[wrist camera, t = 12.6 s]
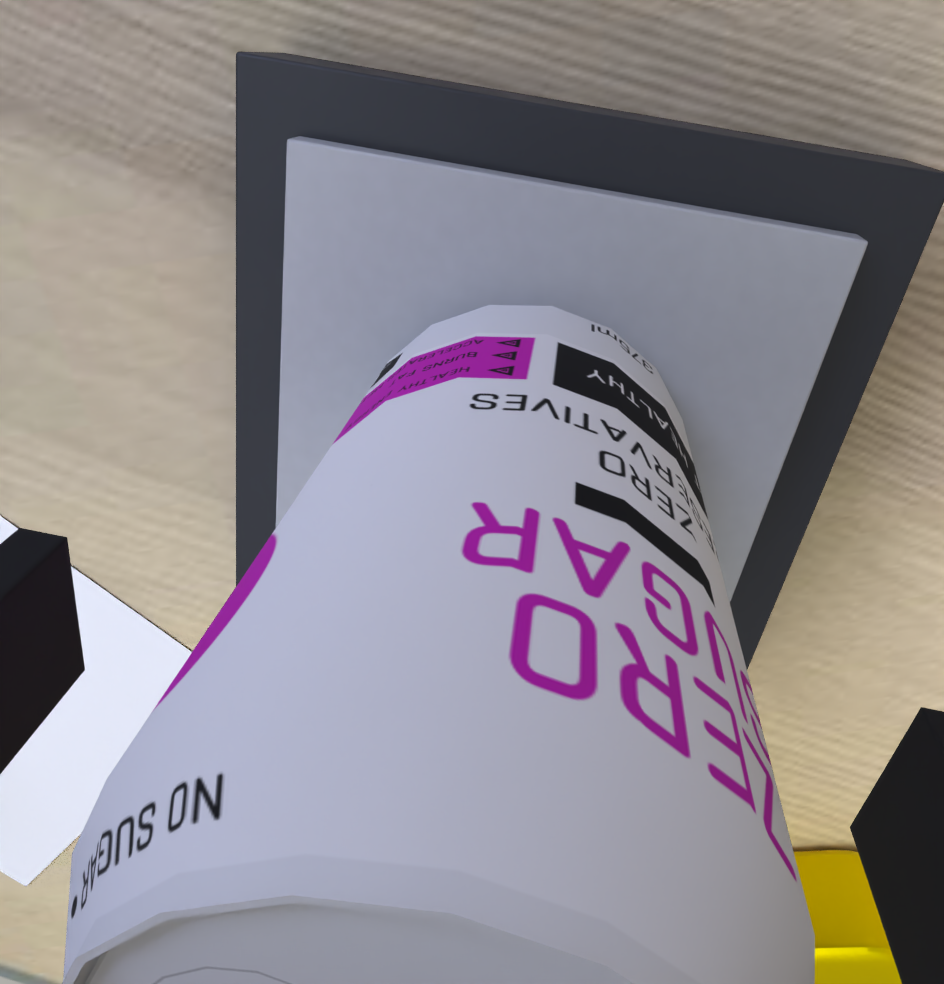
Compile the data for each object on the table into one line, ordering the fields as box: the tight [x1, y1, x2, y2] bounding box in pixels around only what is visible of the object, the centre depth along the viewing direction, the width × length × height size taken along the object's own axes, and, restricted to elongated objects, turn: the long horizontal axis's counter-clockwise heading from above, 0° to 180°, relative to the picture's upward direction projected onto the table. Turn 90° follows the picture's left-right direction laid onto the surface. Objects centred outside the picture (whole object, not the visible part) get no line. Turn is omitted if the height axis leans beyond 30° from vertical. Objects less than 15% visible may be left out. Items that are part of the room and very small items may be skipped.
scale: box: [236, 52, 944, 669], centre depth 22 cm, size 16×16×4 cm
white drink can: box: [62, 305, 815, 984], centre depth 14 cm, size 8×8×15 cm
